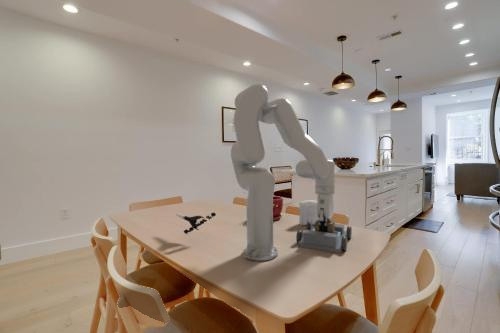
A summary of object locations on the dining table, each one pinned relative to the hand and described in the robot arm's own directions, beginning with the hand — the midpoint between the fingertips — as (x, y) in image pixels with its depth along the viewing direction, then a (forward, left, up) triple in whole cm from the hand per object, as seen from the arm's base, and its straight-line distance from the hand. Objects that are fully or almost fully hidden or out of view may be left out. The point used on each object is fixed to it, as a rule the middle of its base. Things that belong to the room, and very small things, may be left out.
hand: (324, 233), depth 102 cm
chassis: (0, 0, -3) cm, 3 cm away
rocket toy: (-23, +54, -4) cm, 59 cm away
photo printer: (+20, +12, -3) cm, 24 cm away
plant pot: (+22, +34, -3) cm, 41 cm away
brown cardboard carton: (0, 0, -1) cm, 1 cm away
